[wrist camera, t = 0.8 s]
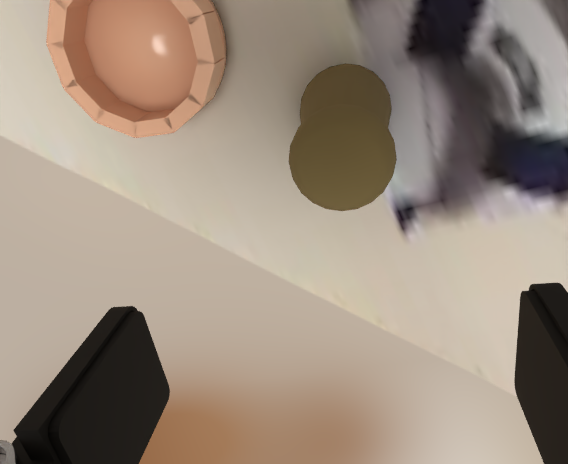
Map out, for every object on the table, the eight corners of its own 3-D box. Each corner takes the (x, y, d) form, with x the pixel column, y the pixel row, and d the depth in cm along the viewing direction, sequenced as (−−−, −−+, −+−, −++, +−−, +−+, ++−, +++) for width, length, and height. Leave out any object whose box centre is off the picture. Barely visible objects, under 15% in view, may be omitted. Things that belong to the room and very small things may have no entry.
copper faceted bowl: (55, -26, 29) (20, -26, 26) (205, -59, 27) (186, -64, 24) (109, 129, 34) (84, 144, 31) (241, 110, 32) (228, 125, 29)
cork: (405, 78, 29) (430, 127, 20) (373, 165, 32) (381, 243, 23) (313, 52, 29) (294, 88, 20) (290, 141, 32) (263, 209, 23)
